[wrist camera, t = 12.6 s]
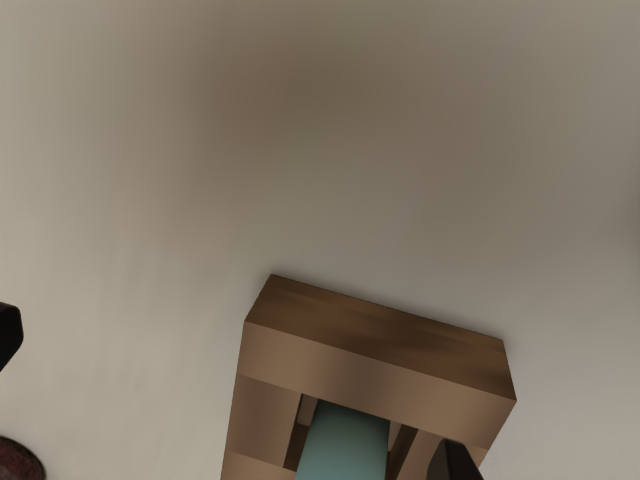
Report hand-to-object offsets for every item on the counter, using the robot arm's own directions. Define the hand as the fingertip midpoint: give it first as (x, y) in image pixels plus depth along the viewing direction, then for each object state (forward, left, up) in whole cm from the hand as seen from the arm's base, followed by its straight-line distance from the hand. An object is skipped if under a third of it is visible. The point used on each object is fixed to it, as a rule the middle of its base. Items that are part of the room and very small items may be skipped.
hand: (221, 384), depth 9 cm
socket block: (-4, +12, -13) cm, 18 cm away
